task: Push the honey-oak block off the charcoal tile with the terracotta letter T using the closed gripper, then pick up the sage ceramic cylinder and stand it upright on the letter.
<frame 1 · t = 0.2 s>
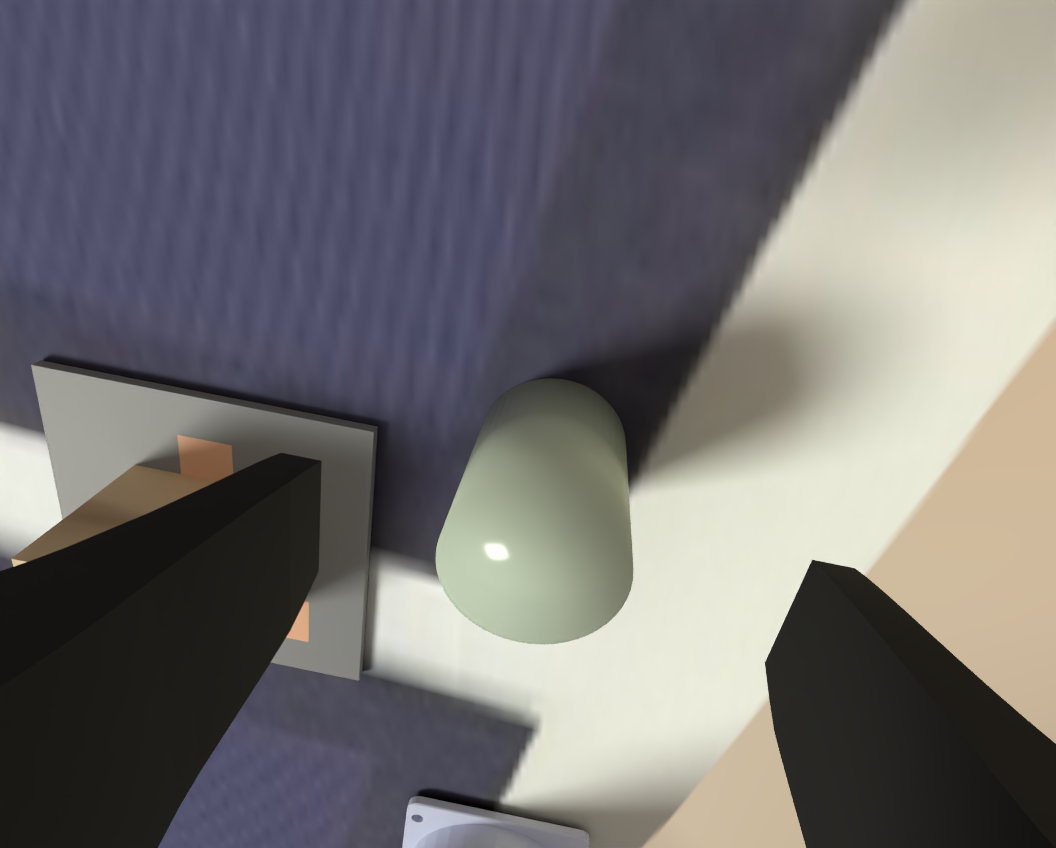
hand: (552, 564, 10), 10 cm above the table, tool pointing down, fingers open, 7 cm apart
letter tile: (218, 532, 23), on the table
oak block: (211, 539, 23), resting on letter tile
sage cylinder: (552, 445, 20), on the table
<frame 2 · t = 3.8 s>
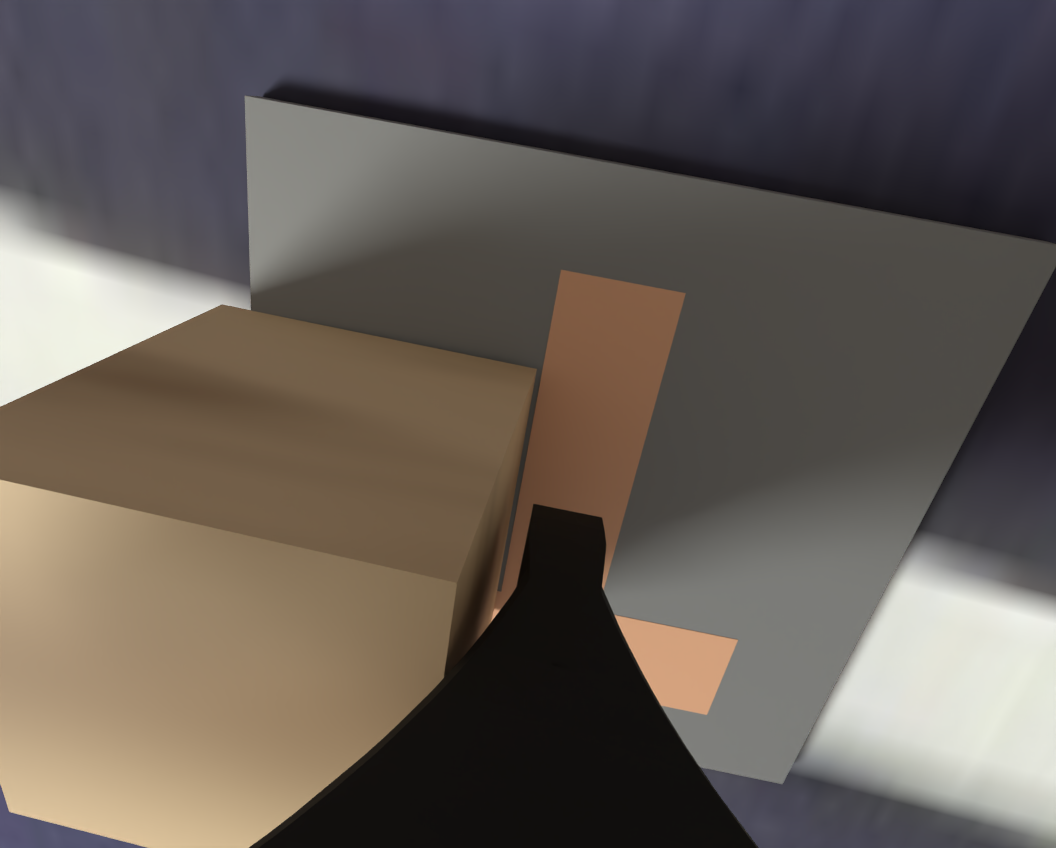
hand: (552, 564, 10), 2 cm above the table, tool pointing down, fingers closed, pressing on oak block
letter tile: (571, 499, 11), on the table
oak block: (369, 474, 11), resting on letter tile, touching gripper
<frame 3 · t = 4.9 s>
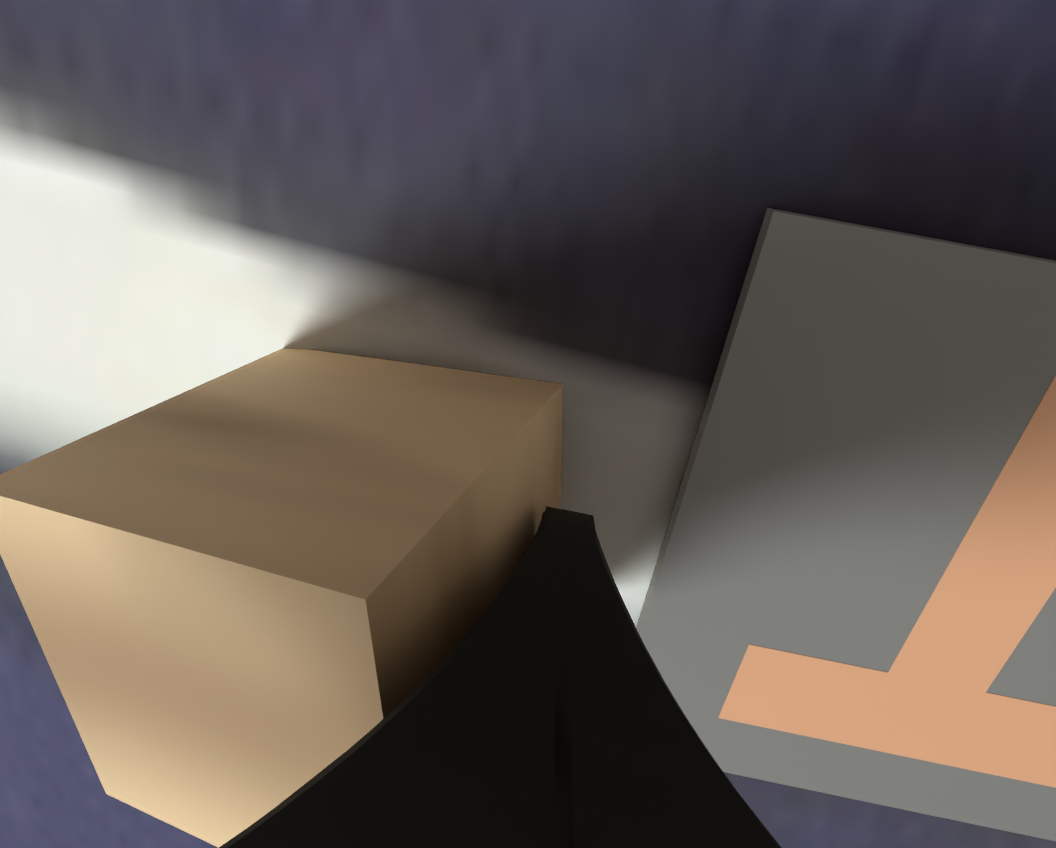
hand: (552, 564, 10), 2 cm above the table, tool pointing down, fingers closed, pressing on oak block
letter tile: (975, 584, 11), on the table
oak block: (426, 497, 11), on the table, tilted 15°, touching gripper
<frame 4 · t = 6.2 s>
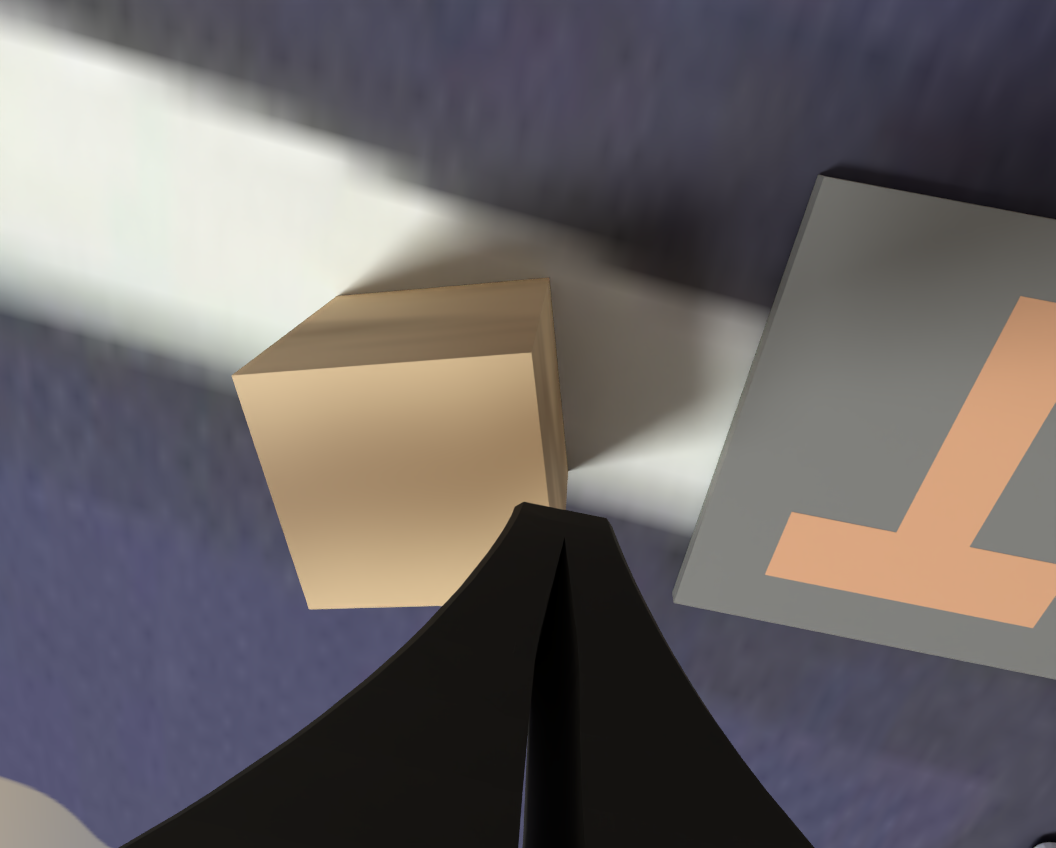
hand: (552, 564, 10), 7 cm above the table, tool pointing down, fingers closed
letter tile: (962, 462, 15), on the table
oak block: (458, 386, 16), on the table
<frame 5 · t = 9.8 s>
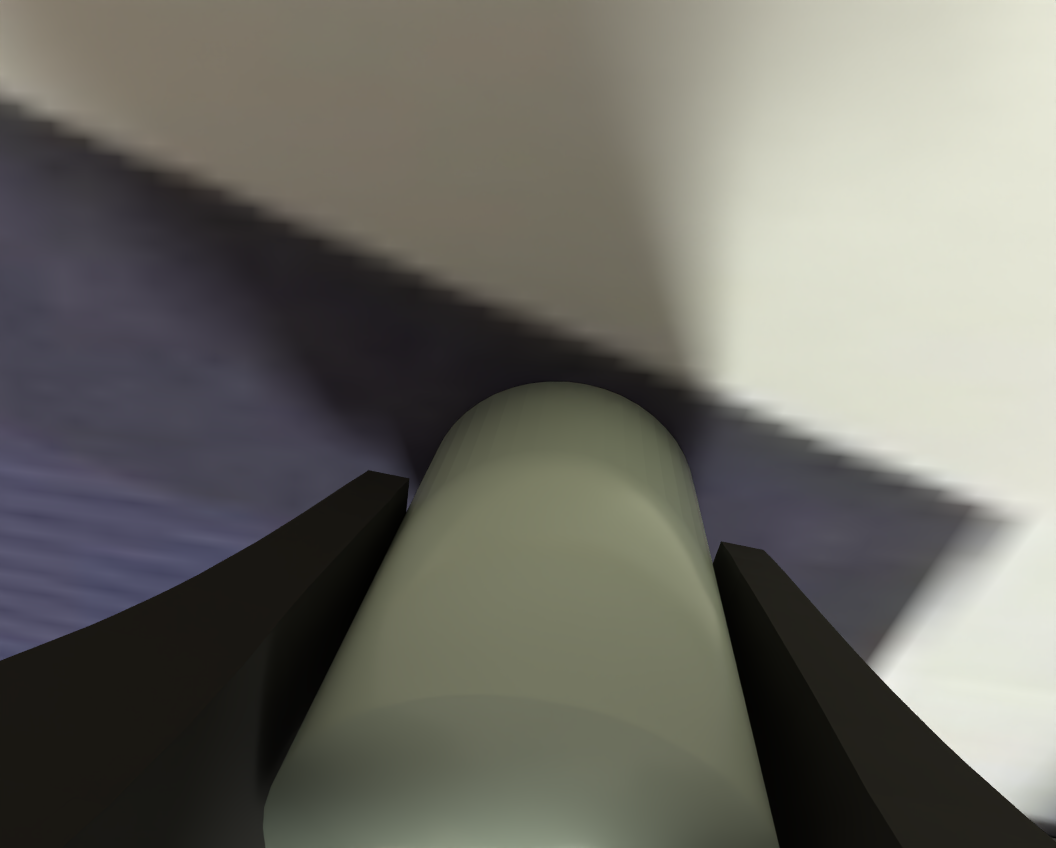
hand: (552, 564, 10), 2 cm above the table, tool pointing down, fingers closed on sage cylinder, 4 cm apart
sage cylinder: (558, 504, 11), on the table, touching gripper
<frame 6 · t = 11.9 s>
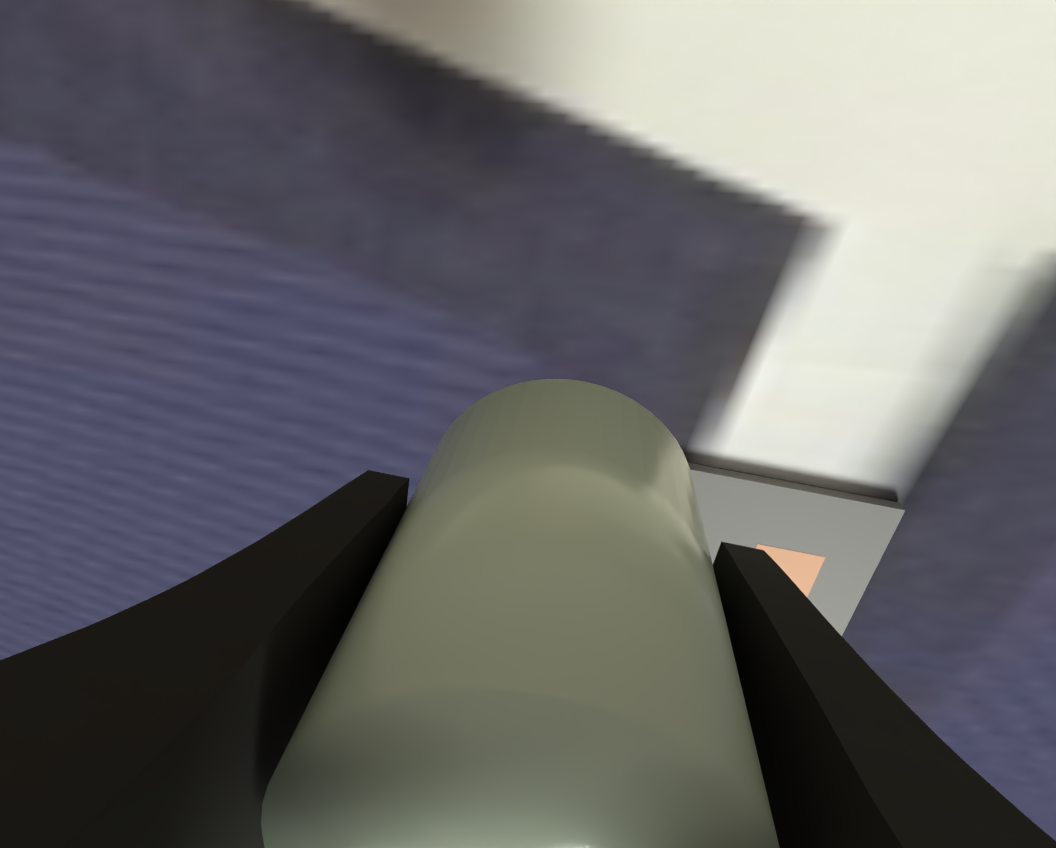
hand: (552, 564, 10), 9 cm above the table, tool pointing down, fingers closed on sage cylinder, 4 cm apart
letter tile: (659, 611, 21), on the table
sage cylinder: (558, 502, 11), point 7 cm above the table, touching gripper
when the fingers open (3 cm above the table, at t = 14.1 s): sage cylinder stays where it is, resting on letter tile.
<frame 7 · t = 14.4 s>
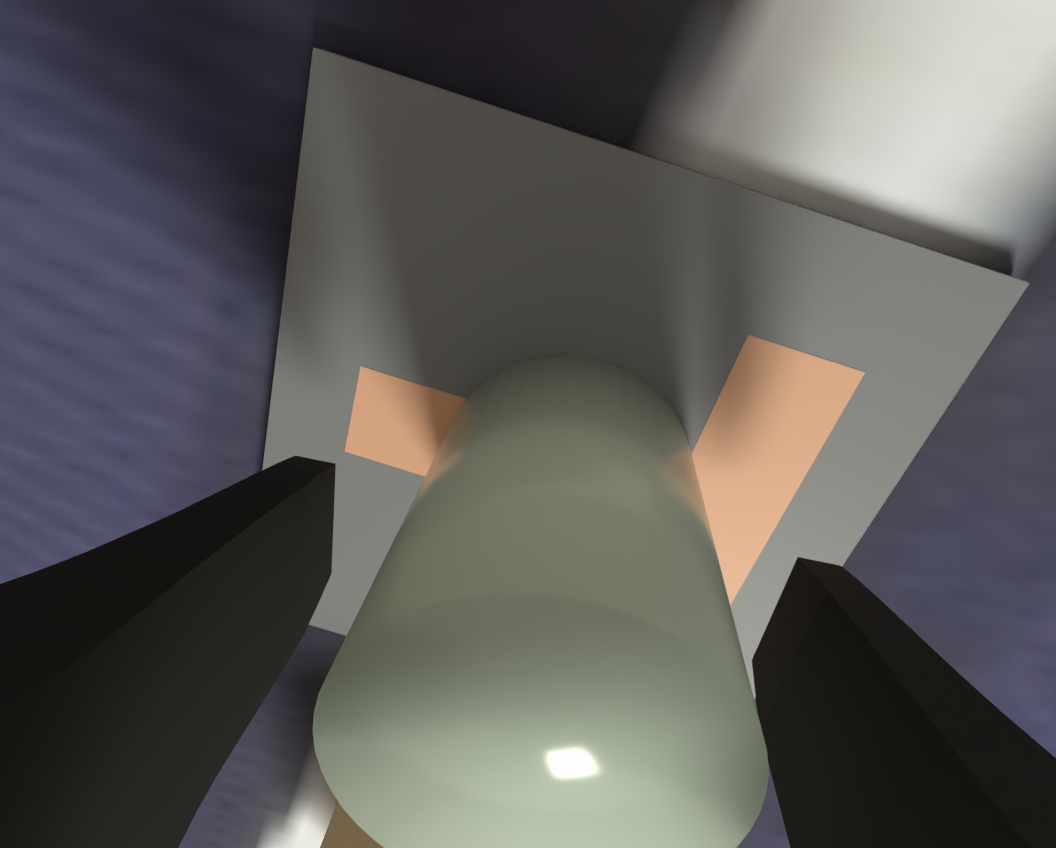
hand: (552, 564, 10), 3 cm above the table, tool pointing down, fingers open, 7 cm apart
letter tile: (563, 464, 12), on the table
oak block: (451, 832, 18), on the table
sage cylinder: (565, 472, 12), resting on letter tile
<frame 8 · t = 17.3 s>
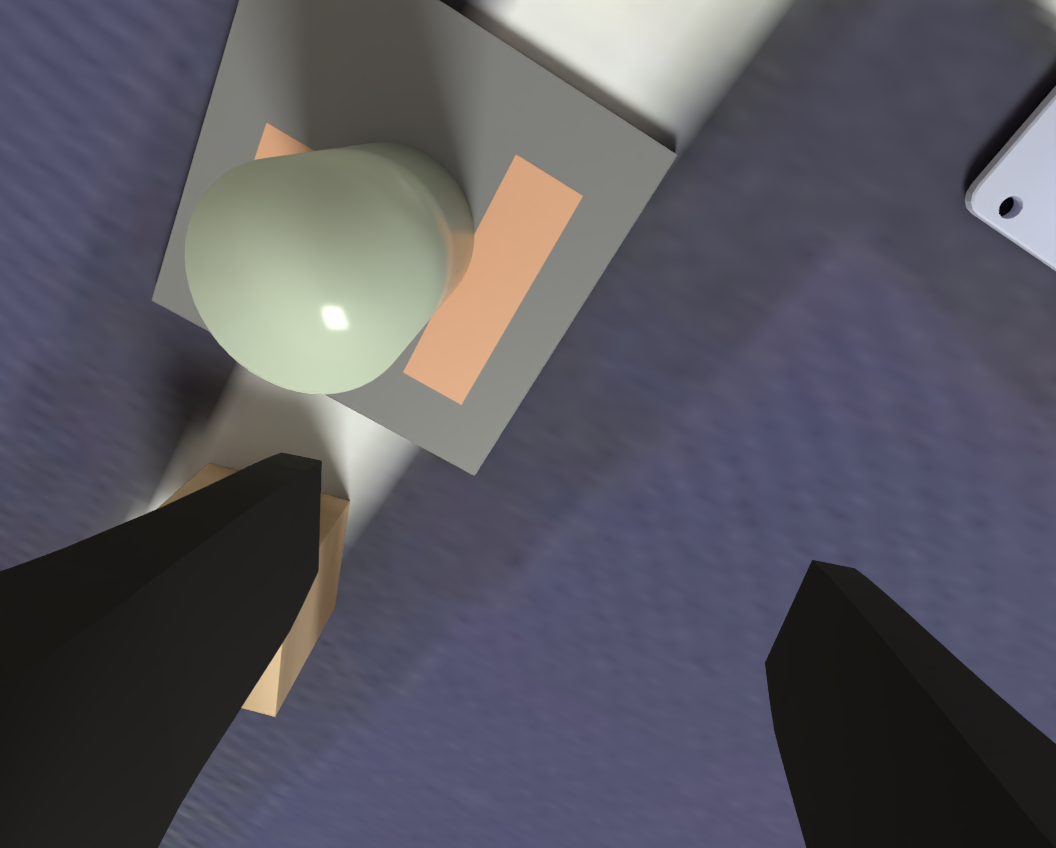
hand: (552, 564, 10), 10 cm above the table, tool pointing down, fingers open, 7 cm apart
letter tile: (394, 231, 18), on the table
oak block: (275, 537, 23), on the table
sage cylinder: (392, 231, 18), resting on letter tile
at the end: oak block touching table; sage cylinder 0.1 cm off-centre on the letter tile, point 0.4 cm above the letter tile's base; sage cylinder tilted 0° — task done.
